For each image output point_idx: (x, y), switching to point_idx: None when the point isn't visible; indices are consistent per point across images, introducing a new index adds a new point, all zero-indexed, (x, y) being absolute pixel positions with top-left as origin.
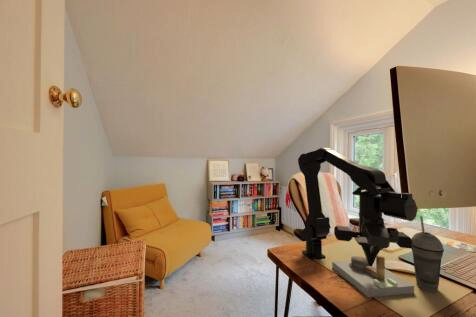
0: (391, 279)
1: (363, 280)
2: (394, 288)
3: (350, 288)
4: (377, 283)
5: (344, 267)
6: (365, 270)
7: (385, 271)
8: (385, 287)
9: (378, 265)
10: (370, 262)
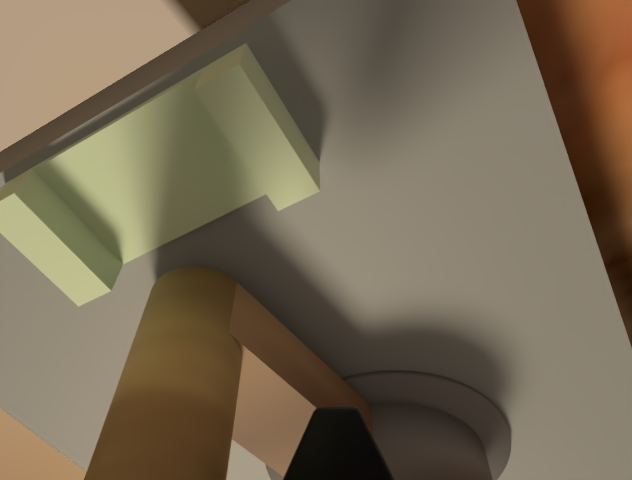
0: (60, 280)
1: (449, 181)
2: (52, 140)
3: (625, 48)
4: (278, 110)
5: (584, 407)
6: (357, 399)
7: None
8: (169, 87)
9: (197, 442)
10: (347, 465)
